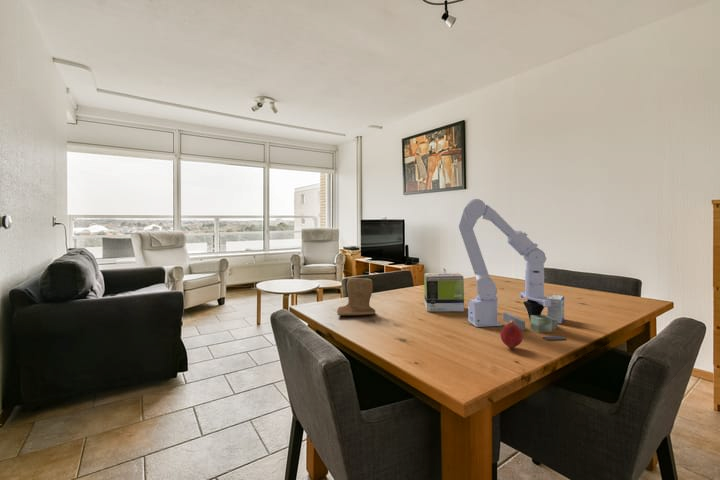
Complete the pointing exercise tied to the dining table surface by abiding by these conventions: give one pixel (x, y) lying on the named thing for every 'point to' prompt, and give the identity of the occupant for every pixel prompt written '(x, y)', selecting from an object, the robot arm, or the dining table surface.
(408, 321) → the dining table surface
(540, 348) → the dining table surface
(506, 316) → the tunnel
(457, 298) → the tea box
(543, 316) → the green block
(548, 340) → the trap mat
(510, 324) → the onion
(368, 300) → the brown flared block
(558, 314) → the medicine box
